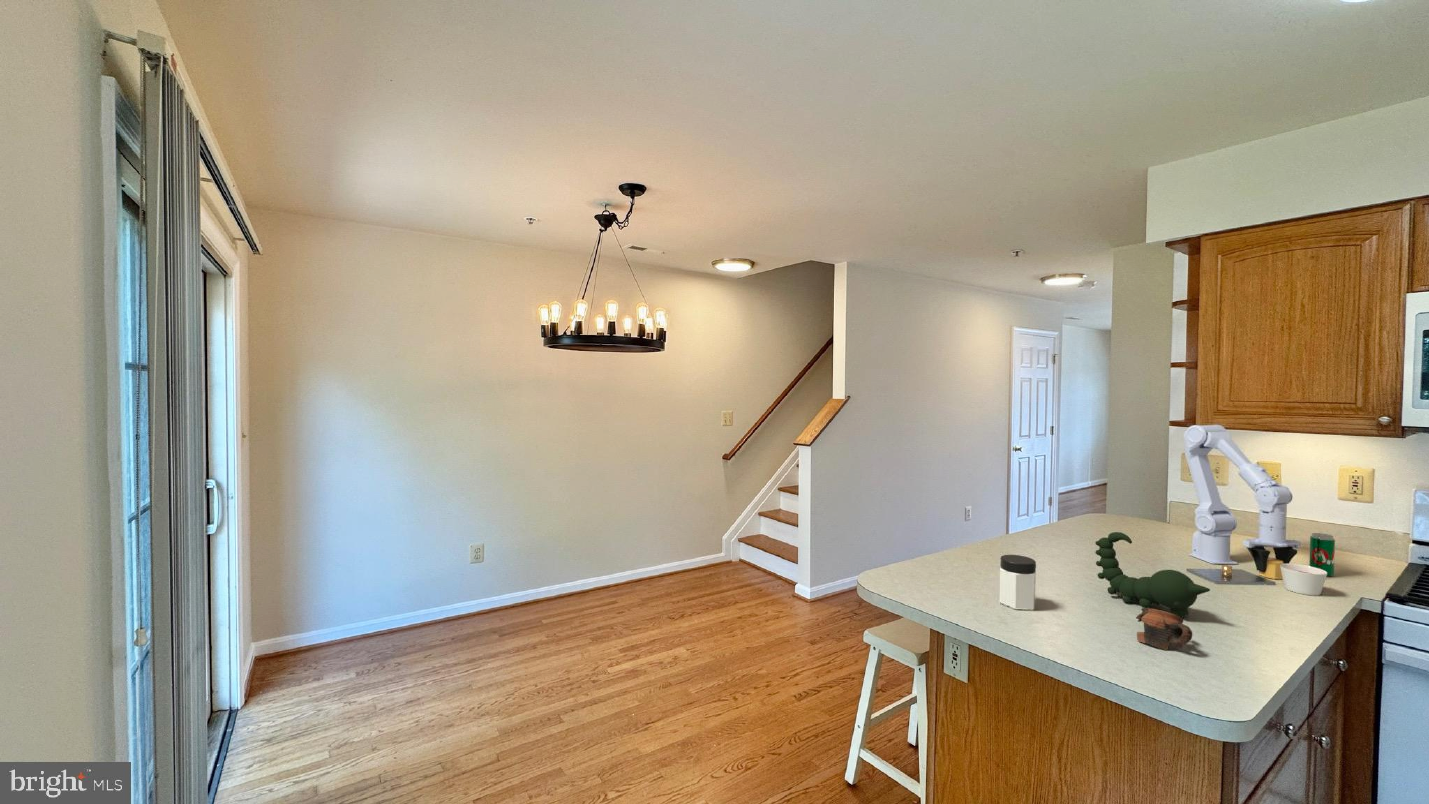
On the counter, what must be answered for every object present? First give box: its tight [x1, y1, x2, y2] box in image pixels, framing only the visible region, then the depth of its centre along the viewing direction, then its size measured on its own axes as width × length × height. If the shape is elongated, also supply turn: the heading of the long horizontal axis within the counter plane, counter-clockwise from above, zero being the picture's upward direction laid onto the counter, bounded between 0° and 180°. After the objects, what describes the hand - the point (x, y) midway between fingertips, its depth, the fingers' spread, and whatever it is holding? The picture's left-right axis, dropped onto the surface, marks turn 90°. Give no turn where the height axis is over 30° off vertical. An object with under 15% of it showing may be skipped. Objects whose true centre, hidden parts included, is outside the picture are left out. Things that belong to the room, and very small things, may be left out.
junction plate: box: [1185, 564, 1276, 586], centre depth 165 cm, size 11×16×4 cm
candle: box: [1280, 563, 1327, 596], centre depth 154 cm, size 9×9×6 cm
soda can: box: [1308, 532, 1336, 578], centre depth 168 cm, size 5×5×12 cm
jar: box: [999, 554, 1037, 610], centre depth 146 cm, size 9×8×12 cm
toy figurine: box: [1094, 531, 1211, 619], centre depth 143 cm, size 9×19×25 cm
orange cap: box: [1258, 556, 1283, 580], centre depth 166 cm, size 5×5×5 cm
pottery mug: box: [1135, 607, 1193, 651], centre depth 124 cm, size 12×10×8 cm
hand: (1270, 571), depth 166 cm, fingers closed on orange cap, 5 cm apart
